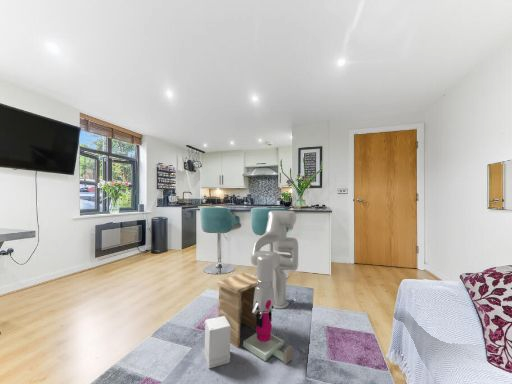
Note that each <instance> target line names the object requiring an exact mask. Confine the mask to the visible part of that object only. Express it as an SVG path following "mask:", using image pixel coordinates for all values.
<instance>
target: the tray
mask: <svg viewBox="0 0 512 384" xmlns="http://www.w3.org/2000/svg"><path fill="white" fill-rule="evenodd" d="M284 341H285V340H284V339H282V338H280V337H279V336H276V335H274V334H272V333H271V339H270V340H269V341H267V342H261V341H259V340H258V339H257V332H255V333H253V334H251V335H250V336H249V337H248V338H246V339H244V340H243V342H242V344H243V345H242V347H243V348H245V349H246V350H247V351H249V352H251V353H252V354H253V355H255V356H257V357H258V358H260V359H261V360H262V361H264V362H267V361H268V360H269V359H270V358H272V357H273V356H274V357H276V359H279V360H280V361H282V362H283V363H284V364H285V365H287V364H288V363H289V362H290V361H292V360H293V359H292V357H293V354H292V353H293V347H292V346H291V345H289V346H288V347H286V348H285V349H284V350H283V352H282V351H280V350H281V349H282V348H283V347H284V346H285V345H284V344H285V342H284Z"/></svg>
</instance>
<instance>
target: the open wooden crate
mask: <svg viewBox="0 0 512 384" xmlns="http://www.w3.org/2000/svg"><path fill="white" fill-rule="evenodd" d="M256 285H257V275H253V274H250V273H248V272H243V273H239V274H237V275H234V276H231V277H227V278H225V279H222V280H218V281H217V286H218V316H217V317H221V316H225V317H226V319H227V321H228V323H229V324H230V326H231V330H230V345H232V346H234V347H236V348H237V349H239V348H240V347H241V346H240V345H241V344H240V343H241V337H240V336H241V324H244V325H246V326H248V327H250V328H252V329H253V330H255V331H257V330H256V316H255V315H254V314H253V313H252V311H253V300H254V292H255V287H257V286H256ZM258 314H259V315H260V312H259V313H258Z"/></svg>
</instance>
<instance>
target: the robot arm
mask: <svg viewBox="0 0 512 384" xmlns="http://www.w3.org/2000/svg"><path fill="white" fill-rule="evenodd" d="M296 223H297V214H296V212H295V211H293V210H270V211H269V212H268V213H267V222H266V228H265V232H264V233H263V234H262V235H261V236H260V237H258V239H257V240H256V241H255V243H254V245H253V247H252V252H251V257H250V261H251V264H252V266H255V267H256V276H257V285H256V286H257V287H255V292H254V300H253V311H252V313H253V314H254V315H255V316H256V325H257V326H259V327H261V328H262V327H263V318H262V314H263V311H265V310H267V308H266V307H265V305H266V303H267V301H268V300H271V306H270V307H269V308H270V311H269V319H270V322H272V313H273V308H274V309H281V310H282V309H286V308H287V307H289V301H288V300H287V299H288V298H290V296H291V295H290V294H289V293H287V274H286V272H285V271H289V272H290V271H292V272H293V271H297V270H298V267H299V241H298V239H297V238H295V237H288V236H287V231H288V230H287V228H293V227H294V225H295V224H296ZM271 243H272V246H273V247H272V248H273V250H274V251H268V250H261V249H262V248H263V247H265V246H267V245H269V244H271ZM285 253H286V254H285ZM259 309H260V310H259ZM259 312H260V315H259V314H258V313H259Z"/></svg>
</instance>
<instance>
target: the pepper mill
mask: <svg viewBox="0 0 512 384" xmlns="http://www.w3.org/2000/svg"><path fill="white" fill-rule="evenodd" d="M270 306H271V300H268V301H267V303H266V305H265V307H266V308H267V310H265V311H263V314H262V318H263V327H262V328H261V327H259V326H257V325H256V330H255V331H256V333H257V339H258V340H259V341H261V342H267V341H269V340H270V339H271V334H272V330H273V326H272V323H271V322H272V321H271V322H270V319H269V311H270V308H269V307H270ZM259 310H260V309H259Z"/></svg>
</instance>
